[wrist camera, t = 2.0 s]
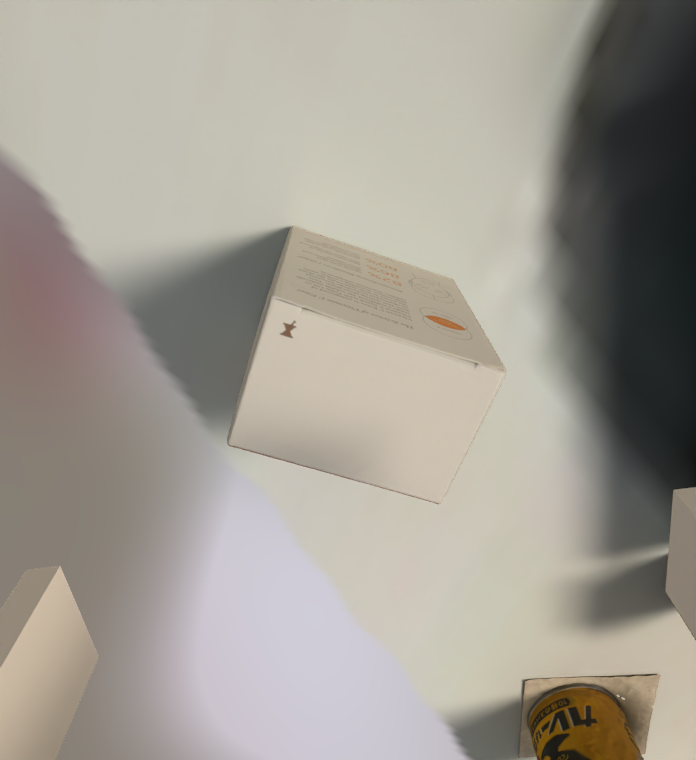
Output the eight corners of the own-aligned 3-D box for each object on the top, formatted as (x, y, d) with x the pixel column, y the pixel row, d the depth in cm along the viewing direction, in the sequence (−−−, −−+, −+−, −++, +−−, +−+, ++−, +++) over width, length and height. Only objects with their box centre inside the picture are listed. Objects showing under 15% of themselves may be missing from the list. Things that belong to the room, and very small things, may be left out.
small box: (257, 332, 31) (217, 447, 21) (291, 220, 29) (264, 292, 19) (413, 382, 32) (442, 511, 22) (458, 278, 30) (511, 373, 20)
